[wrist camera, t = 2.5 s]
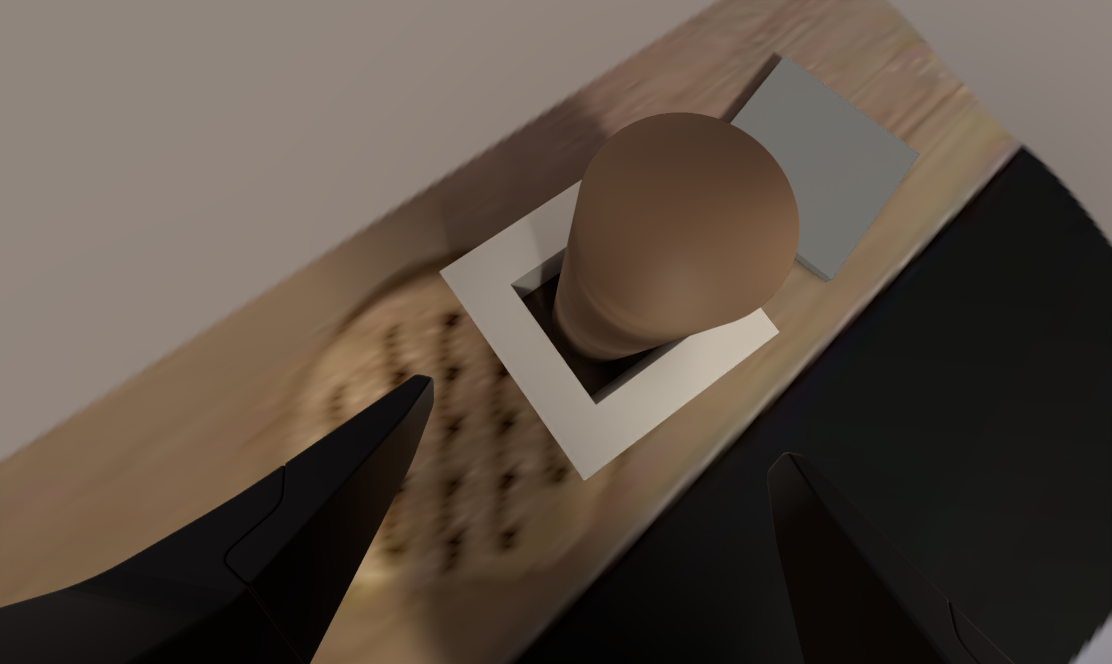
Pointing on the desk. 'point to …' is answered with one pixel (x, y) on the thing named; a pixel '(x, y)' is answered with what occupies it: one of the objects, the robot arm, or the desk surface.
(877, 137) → the pad
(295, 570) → the robot arm
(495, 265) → the frame
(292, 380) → the desk surface
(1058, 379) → the desk surface
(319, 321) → the desk surface
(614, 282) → the peg
